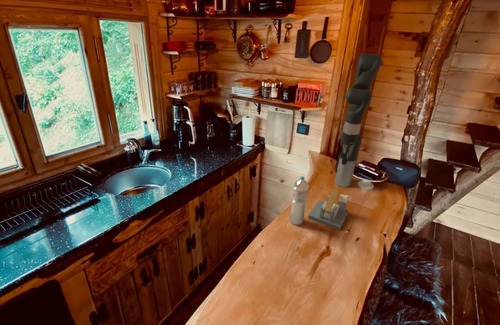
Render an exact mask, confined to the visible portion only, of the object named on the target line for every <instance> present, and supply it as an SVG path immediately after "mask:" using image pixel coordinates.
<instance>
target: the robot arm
mask: <svg viewBox="0 0 500 325" xmlns="http://www.w3.org/2000/svg"><path fill="white" fill-rule="evenodd" d="M381 66H382V56H381V55H379V54H373V53H371V54H370V53H361V54H360V55H359V58H358V61H357V65H356V71H355V78H354V83H353V85H352V86H350V88H349V89H348V90H347V92H346V94H345V101H346V102H347V104H348V109H347V111H346V116H345V121H344V124H343V127H342V128H343V129H342V133H341V138H340V141H339V142H340V146H341V147H342V149H341V153H340V157H339V161H338V164H337V165H338V166H337V171H336V175H335V178H334V179H335V180H334V183H335V185H337V186H340V187H341V188H342V187H343V188H346V187H348V188H349V187H350V186H351V184H352V180H353V179H352V178H353V176H354V175H353V174H354V170H355V166H356V162H357V158H358V154H359V150H360V147H361V144H362V139H363V137H362V134H360V131H361V124H362V119H363V115H364V114H365V113H366V111H367V107H368V105H369V103H370V102H371V99H372V92H371V91H370V88H371V86H372V83H373V81H374V80H375V78H376V76H377V74H378V72H379V71H380V69H381Z"/></svg>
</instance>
